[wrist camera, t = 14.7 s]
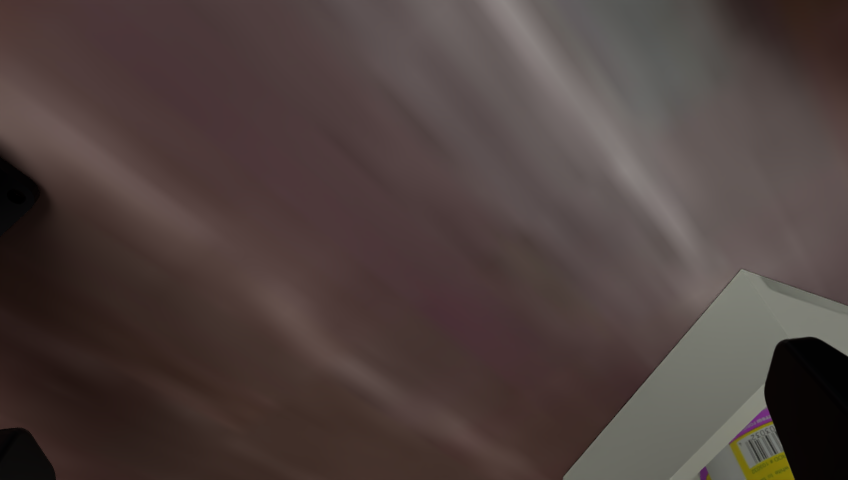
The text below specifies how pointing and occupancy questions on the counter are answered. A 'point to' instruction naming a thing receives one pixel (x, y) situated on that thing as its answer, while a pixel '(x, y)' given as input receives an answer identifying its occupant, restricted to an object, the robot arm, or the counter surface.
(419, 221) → the counter surface
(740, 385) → the tote
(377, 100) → the counter surface
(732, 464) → the supplement bottle
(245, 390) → the counter surface
